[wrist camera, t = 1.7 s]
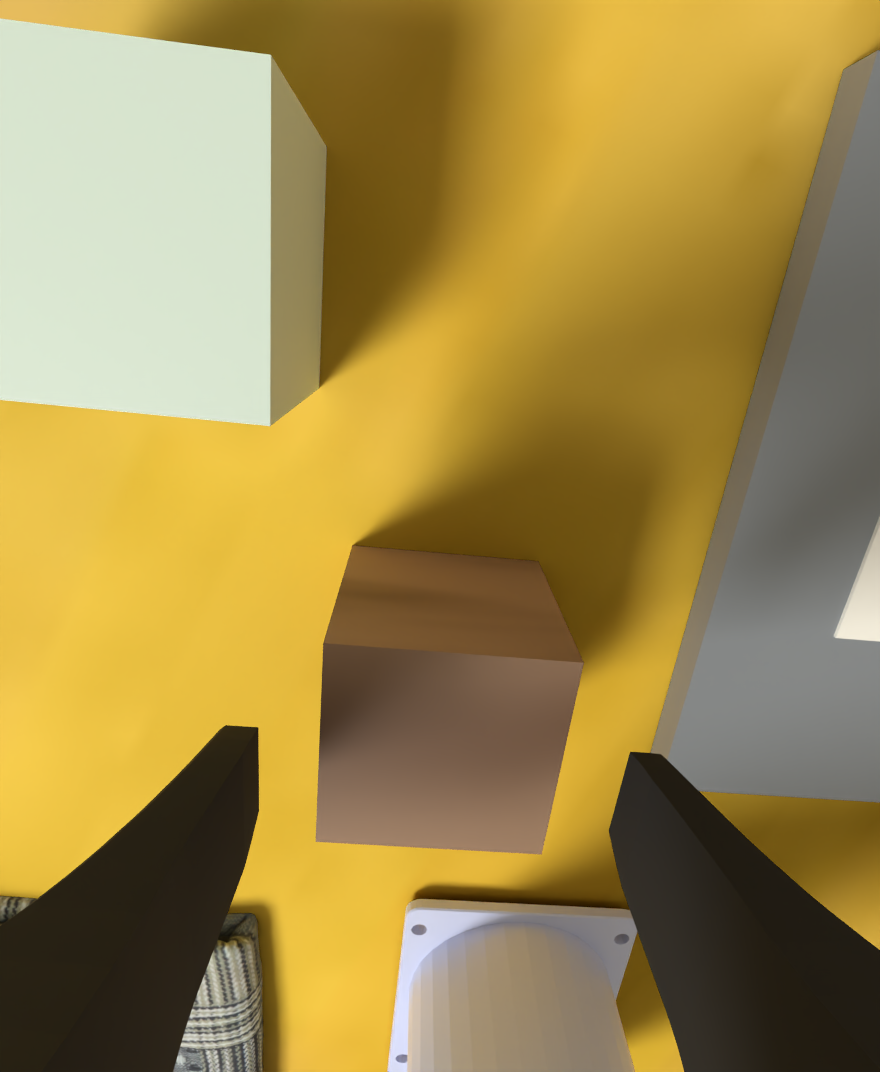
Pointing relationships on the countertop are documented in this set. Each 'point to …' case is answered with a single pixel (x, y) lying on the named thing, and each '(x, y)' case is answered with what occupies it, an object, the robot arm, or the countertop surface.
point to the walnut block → (443, 703)
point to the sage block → (156, 227)
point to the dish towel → (216, 1000)
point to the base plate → (800, 516)
